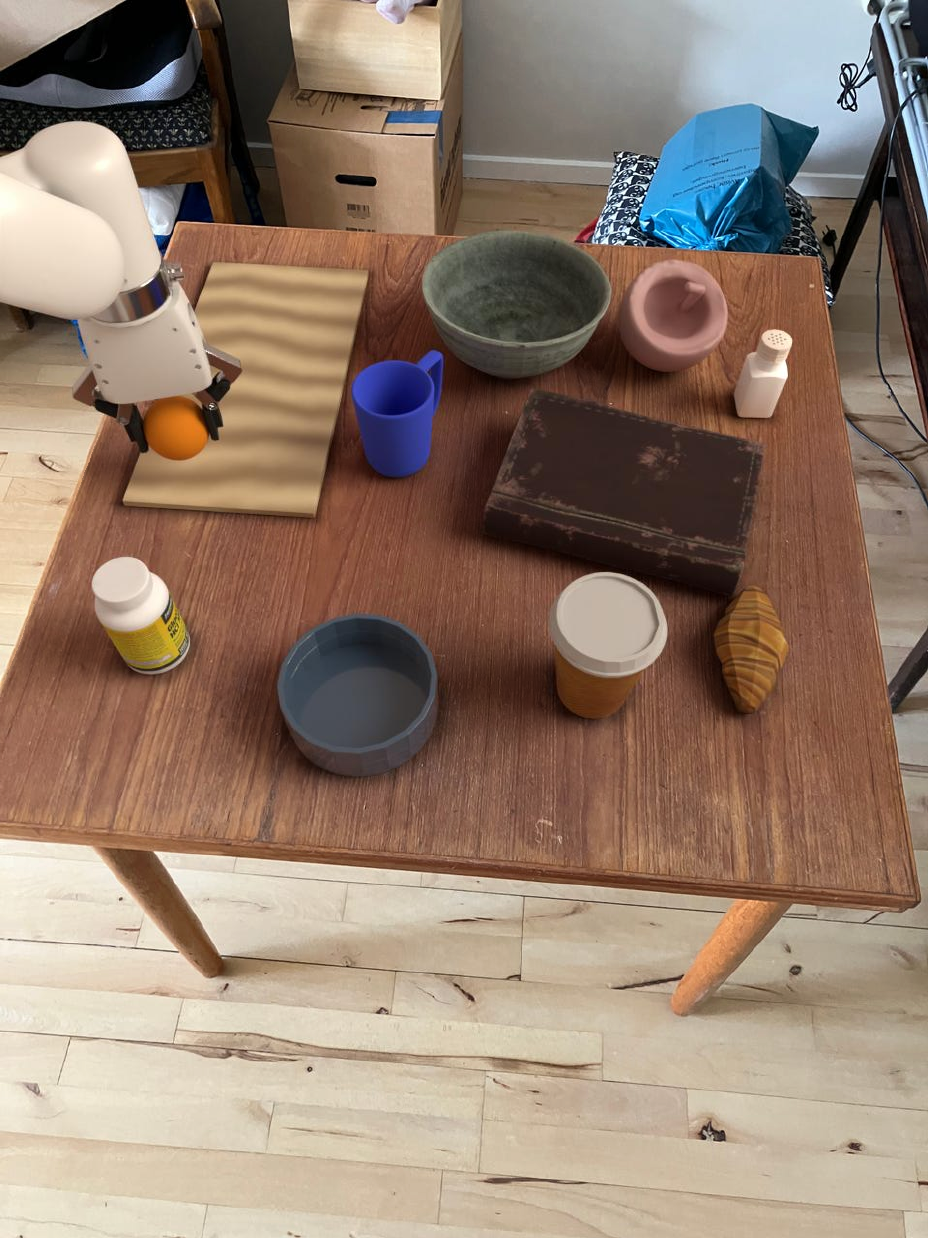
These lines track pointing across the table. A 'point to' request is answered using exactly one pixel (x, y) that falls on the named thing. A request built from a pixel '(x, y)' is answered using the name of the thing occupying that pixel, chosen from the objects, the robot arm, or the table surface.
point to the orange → (175, 428)
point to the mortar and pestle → (672, 315)
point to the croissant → (750, 648)
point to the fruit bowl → (359, 694)
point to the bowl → (515, 301)
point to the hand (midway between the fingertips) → (179, 435)
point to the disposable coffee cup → (604, 640)
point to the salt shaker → (763, 376)
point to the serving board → (265, 392)
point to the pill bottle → (139, 616)
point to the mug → (398, 412)
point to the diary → (627, 491)
